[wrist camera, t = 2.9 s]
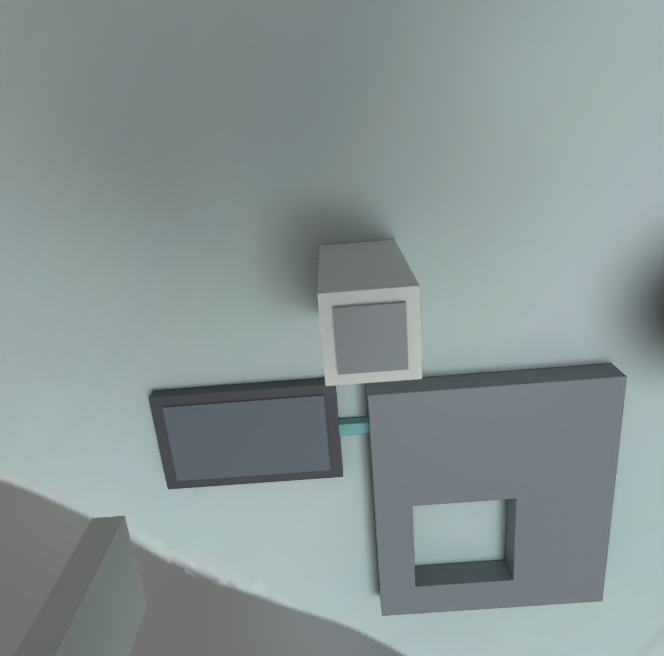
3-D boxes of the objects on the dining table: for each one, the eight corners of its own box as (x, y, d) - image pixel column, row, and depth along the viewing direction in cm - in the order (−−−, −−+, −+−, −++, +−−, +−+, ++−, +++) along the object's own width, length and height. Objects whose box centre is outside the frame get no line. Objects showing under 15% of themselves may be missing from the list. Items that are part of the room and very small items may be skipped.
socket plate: (366, 381, 38) (368, 395, 36) (611, 363, 37) (626, 376, 36) (379, 594, 44) (382, 615, 42) (590, 580, 44) (602, 601, 42)
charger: (319, 245, 35) (317, 295, 25) (394, 239, 35) (420, 287, 25) (325, 316, 36) (325, 388, 27) (397, 310, 36) (423, 381, 27)
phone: (152, 390, 38) (147, 398, 37) (457, 367, 38) (461, 375, 36) (171, 480, 40) (167, 490, 39) (457, 459, 40) (461, 469, 39)
